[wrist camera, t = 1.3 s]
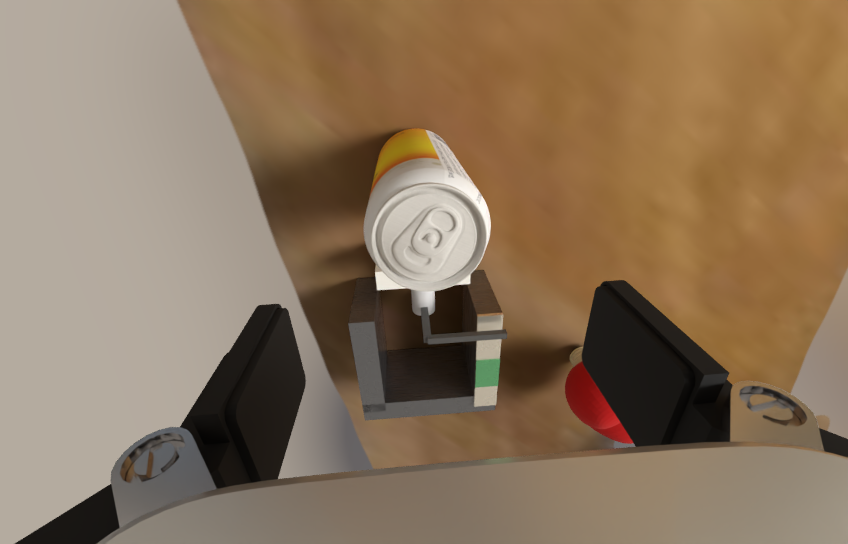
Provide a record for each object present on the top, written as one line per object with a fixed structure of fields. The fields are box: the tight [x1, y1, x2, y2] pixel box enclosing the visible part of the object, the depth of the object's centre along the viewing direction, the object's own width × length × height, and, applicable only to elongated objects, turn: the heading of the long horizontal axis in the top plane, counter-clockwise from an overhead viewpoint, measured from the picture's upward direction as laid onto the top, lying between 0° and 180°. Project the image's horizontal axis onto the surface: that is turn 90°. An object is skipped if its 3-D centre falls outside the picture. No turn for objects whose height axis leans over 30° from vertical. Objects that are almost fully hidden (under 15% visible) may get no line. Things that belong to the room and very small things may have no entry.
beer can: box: [364, 128, 491, 292], centre depth 23 cm, size 6×6×15 cm
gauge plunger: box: [375, 265, 507, 344], centre depth 30 cm, size 5×10×8 cm, turn 92°
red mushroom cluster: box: [565, 347, 633, 444], centre depth 36 cm, size 9×7×10 cm
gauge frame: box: [348, 270, 503, 420], centre depth 34 cm, size 11×12×7 cm
